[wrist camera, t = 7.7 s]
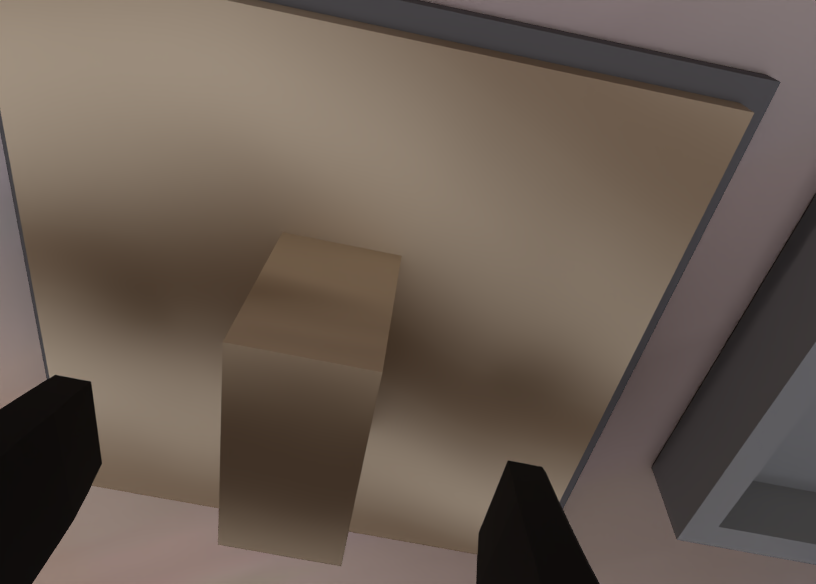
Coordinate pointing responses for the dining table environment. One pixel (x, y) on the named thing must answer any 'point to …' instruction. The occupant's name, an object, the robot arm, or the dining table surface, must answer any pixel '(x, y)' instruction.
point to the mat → (402, 10)
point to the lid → (339, 255)
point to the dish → (755, 424)
